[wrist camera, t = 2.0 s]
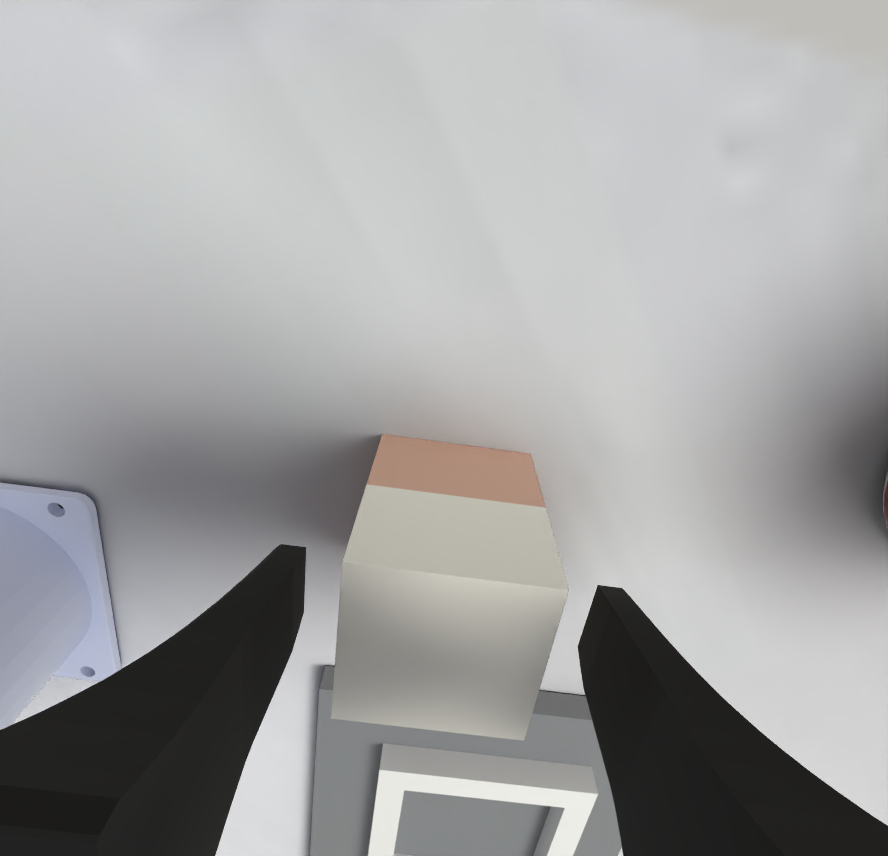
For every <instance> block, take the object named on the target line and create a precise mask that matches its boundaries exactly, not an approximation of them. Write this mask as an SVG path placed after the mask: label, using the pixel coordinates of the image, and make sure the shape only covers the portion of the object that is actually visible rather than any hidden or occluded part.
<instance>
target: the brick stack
mask: <svg viewBox="0 0 888 856" xmlns="http://www.w3.org/2000/svg"><path fill="white" fill-rule="evenodd" d="M568 592H569V589H568V585H567V582H566V578H565V575H564V571H563V567H562V564H561V560H560V557H559V553H558V550H557V546H556V543H555V539H554V535H553V532H552V528H551V525H550V521H549V518H548V514H547V511H546V507H545V503H544V500H543V496H542V493H541V489H540V486H539V482H538V479H537V475H536V471H535V468H534V464H533V461H532V457H531V454H527V453H520V452H512V451H505V450H497V449H490V448H482V447H475V446H468V445H460V444H453V443H445V442H438V441H430V440H423V439H415V438H408V437H400V436H393V435H385V434H382V437H381V440H380V443H379V446H378V449H377V453H376V456H375V459H374V462H373V465H372V469H371V472H370V475H369V478H368V481H367V485H366V488H365V491H364V494H363V497H362V501H361V504H360V507H359V510H358V513H357V517H356V520H355V523H354V526H353V529H352V533H351V536H350V539H349V542H348V545H347V549H346V552H345V555H344V558H343V561H342V573H341V587H340V601H339V615H338V629H337V643H336V657H335V671H334V685H333V699H332V713H331V719H339V720H348V721H357V722H365V723H374V724H383V725H391V726H400V727H409V728H418V729H426V730H435V731H444V732H452V733H461V734H470V735H479V736H487V737H496V738H505V739H513V740H522V741H524V739H525V736H526V732H527V729H528V726H529V722H530V719H531V716H532V712H533V709H534V706H535V702H536V699H537V696H538V692H539V689H540V685H541V682H542V679H543V675H544V672H545V669H546V665H547V662H548V659H549V655H550V652H551V649H552V645H553V642H554V639H555V635H556V632H557V629H558V625H559V622H560V619H561V615H562V612H563V608H564V605H565V602H566V598H567V595H568Z"/></svg>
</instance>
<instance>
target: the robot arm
mask: <svg viewBox="0 0 888 856" xmlns="http://www.w3.org/2000/svg"><path fill="white" fill-rule="evenodd" d="M58 504H60V505H61V506H62V507H63V508H64V509H62V508H60V507H59V506H58ZM305 562H306V547H299V546H291V545H283V544H281V545H279V546H278V547H276V548H275V549H274V550H273V551H272V552H271V553H270V554H269V555H268V556H267V557H266V558H265V559H264V560H263V561H262V562H261V563H260V564H259V565H258V566H257V567H256V568H254V569H253V570H252V571H251V572H250V573H249V574H248V575H247V576H246V577H245V578H244V579H243V580H241V581H240V582H239V583H238V584H237V585H236V586H235V587H233V588H232V589H231V590H230V591H229V592H228V593H227V594H225V595H224V596H223V597H222V598H221V599H220V600H218V601H217V602H216V603H215V604H214V605H212V606H211V607H210V608H209V609H207V610H206V611H205V612H204V613H202V614H201V615H200V616H198V617H197V618H196V619H195V620H193V621H192V622H191V623H190V624H188V625H187V626H186V627H184V628H183V629H182V630H180V631H179V632H177V633H176V634H175V635H173V636H172V637H171V638H169V639H168V640H166V641H165V642H163V643H162V644H160V645H159V646H157V647H156V648H154V649H153V650H151V651H150V652H148V653H147V654H145V655H144V656H142V657H141V658H139V659H137V660H136V661H134V662H132V663H131V664H129V665H128V666H126V667H124V668H122V669H121V663H120V657H119V651H118V644H117V638H116V632H115V625H114V619H113V613H112V606H111V600H110V594H109V587H108V581H107V575H106V568H105V562H104V556H103V549H102V543H101V537H100V531H99V524H98V518H97V512H96V507H95V504H94V502H93V501H92V500H91V499H90V498H89V497H88V496H86V495H84V494H81V493H78V492H71V491H63V490H55V489H47V488H39V487H31V486H23V485H15V484H8V483H0V856H215V854H216V851H217V848H218V845H219V842H220V838H221V835H222V832H223V829H224V826H225V823H226V819H227V816H228V813H229V810H230V807H231V804H232V801H233V798H234V795H235V792H236V789H237V786H238V783H239V780H240V777H241V774H242V771H243V767H244V764H245V762H246V759H247V756H248V754H249V751H250V749H251V746H252V744H253V741H254V739H255V736H256V734H257V732H258V729H259V727H260V725H261V723H262V720H263V718H264V716H265V713H266V711H267V709H268V706H269V704H270V702H271V699H272V697H273V695H274V692H275V690H276V688H277V686H278V683H279V681H280V679H281V676H282V674H283V671H284V669H285V667H286V664H287V662H288V660H289V657H290V655H291V653H292V650H293V646H294V643H295V640H296V637H297V633H298V630H299V627H300V623H301V620H302V616H303V613H304V591H305ZM578 652H579V659H580V667H581V674H582V680H583V687H584V691H585V695H586V699H587V703H588V706H589V710H590V714H591V718H592V721H593V725H594V729H595V732H596V736H597V740H598V743H599V747H600V751H601V754H602V758H603V762H604V765H605V769H606V773H607V776H608V780H609V784H610V788H611V792H612V796H613V801H614V805H615V810H616V816H617V822H618V827H619V833H620V838H621V844H622V850H623V856H888V826H887V825H886V824H884V823H882V822H881V821H879V820H878V819H876V818H875V817H873V816H872V815H870V814H869V813H867V812H866V811H864V810H863V809H862V808H860V807H859V806H857V805H856V804H854V803H853V802H851V801H850V800H849V799H847V798H846V797H844V796H843V795H841V794H840V793H839V792H837V791H836V790H834V789H833V788H832V787H830V786H829V785H827V784H826V783H825V782H823V781H822V780H821V779H819V778H818V777H817V776H815V775H814V774H813V773H811V772H810V771H809V770H807V769H806V768H805V767H803V766H802V765H801V764H800V763H798V762H797V761H796V760H795V759H793V758H792V757H791V756H789V755H788V754H787V753H786V752H784V751H783V750H782V749H781V748H779V747H778V746H777V745H776V744H774V743H773V742H772V741H771V740H770V739H768V738H767V737H766V736H765V735H764V734H762V733H761V732H760V731H759V730H758V729H757V728H756V727H754V726H753V725H752V724H751V723H750V722H749V721H748V720H747V719H745V718H744V717H743V716H742V715H741V714H740V713H739V712H738V711H736V710H735V709H734V708H733V707H732V706H731V705H730V704H729V703H728V702H727V701H726V700H725V699H724V698H722V697H721V696H720V695H719V694H718V693H717V692H716V691H715V690H714V689H713V688H712V687H711V686H710V685H709V684H708V683H707V682H706V681H705V680H704V679H703V678H702V677H701V676H700V675H699V674H698V673H697V672H696V670H695V669H694V668H693V667H692V666H691V665H690V664H689V663H688V662H687V661H686V660H685V659H684V658H683V657H682V656H681V654H680V653H679V652H678V651H677V650H676V649H675V648H674V647H673V646H672V645H671V643H670V642H669V641H668V640H667V639H666V638H665V637H664V636H663V634H662V633H661V632H660V631H659V630H658V629H657V628H656V626H655V625H654V624H653V623H652V622H651V621H650V619H649V618H648V617H647V616H646V615H645V614H644V612H643V611H642V610H641V609H640V608H639V607H638V605H637V604H636V603H635V602H634V601H633V600H632V599H631V597H630V596H629V595H628V594H627V593H626V592H625V591H624V590H623V589H622V588H616V587H608V586H601V585H598V586H597V589H596V592H595V595H594V598H593V602H592V605H591V608H590V611H589V614H588V617H587V620H586V623H585V626H584V629H583V632H582V635H581V638H580V641H579V644H578ZM52 676H56V677H65V678H73V679H82V680H91V681H100V682H99V683H97V684H95V685H93V686H91V687H89V688H87V689H85V690H84V691H82V692H80V693H78V694H76V695H74V696H72V697H70V698H68V699H66V700H64V701H62V702H60V703H58V704H56V705H54V706H52V707H50V708H48V709H46V710H44V711H42V712H40V713H37V714H35V715H33V716H31V717H29V718H27V719H24V720H22V721H20V722H17V723H15V724H13V725H11V724H12V723H13V722H14V721H15V720H16V718H17V717H18V716H19V715H20V714H21V712H22V711H23V710H24V709H25V708H26V707H27V705H28V704H29V703H30V702H31V701H32V699H33V698H34V697H35V696H36V695H37V693H38V692H39V691H40V690H41V689H42V687H43V686H44V685H45V684H46V683H47V682H48V680H49V679H50V678H51V677H52Z"/></svg>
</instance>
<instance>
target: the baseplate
mask: <svg viewBox="0 0 888 856" xmlns="http://www.w3.org/2000/svg"><path fill="white" fill-rule="evenodd" d="M334 671H335V667H333V666H325V670H324V674H323V677H322V681H321V684H320V688H319V702H318V720H317V738H316V756H315V774H314V792H313V810H312V828H311V846H310V856H617V855H618V853H619V851H620V849H621V847H622V844H621V838H620V833H619V827H618V822H617V816H616V810H615V805H614V801H613V796H612V792H611V788H610V784H609V780H608V776H607V773H606V769H605V765H604V762H603V758H602V754H601V751H600V747H599V743H598V740H597V736H596V732H595V729H594V725H593V721H592V718H591V714H590V710H589V706H588V703H587V699H586V696H580V695H571V694H563V693H554V692H546V691H539V692H538V696H537V699H536V702H535V706H534V709H533V712H532V716H531V719H530V722H529V726H528V729H527V732H526V736H525V739H524V741H522V740H513V739H505V738H496V737H487V736H479V735H470V734H461V733H452V732H444V731H435V730H426V729H418V728H409V727H400V726H391V725H383V724H374V723H365V722H357V721H348V720H339V719H331V713H332V699H333V685H334Z"/></svg>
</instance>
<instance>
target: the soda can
mask: <svg viewBox="0 0 888 856" xmlns="http://www.w3.org/2000/svg"><path fill="white" fill-rule="evenodd" d="M883 514H884V518H885V521H886V525H887V529H888V472H887V475H886V479H885V483H884V490H883Z"/></svg>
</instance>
